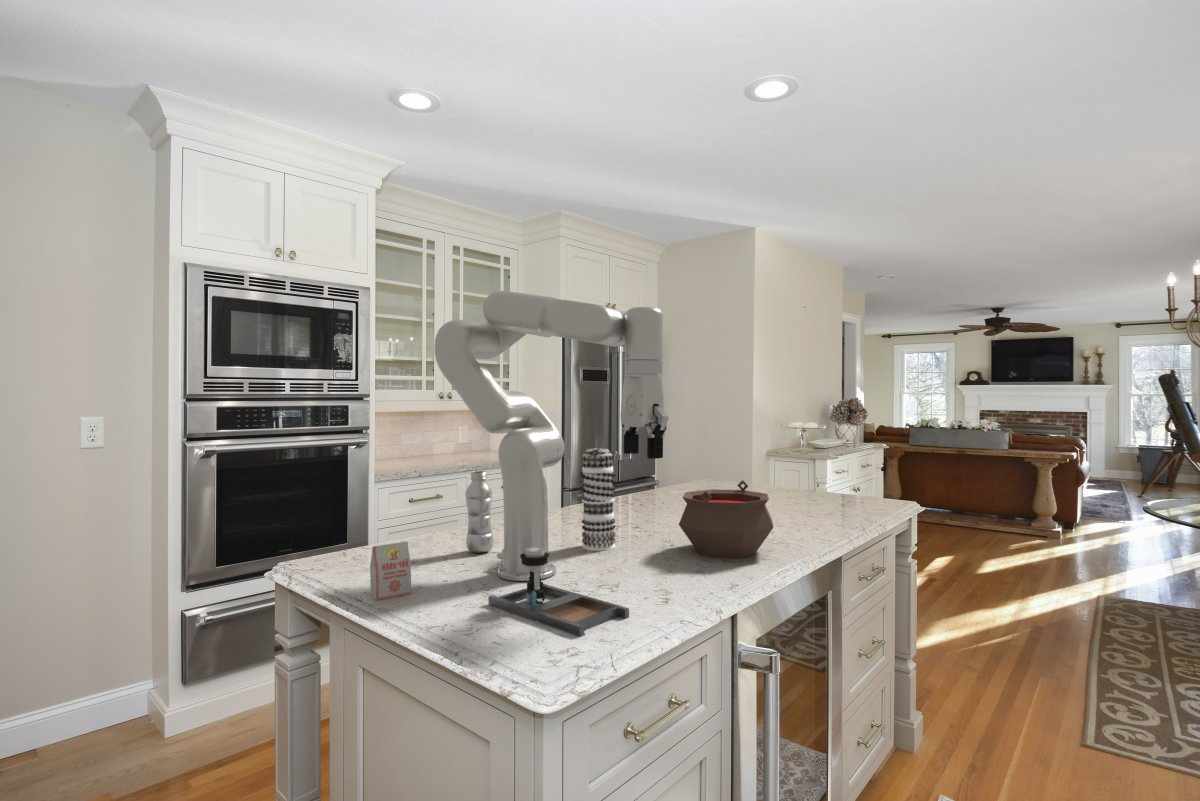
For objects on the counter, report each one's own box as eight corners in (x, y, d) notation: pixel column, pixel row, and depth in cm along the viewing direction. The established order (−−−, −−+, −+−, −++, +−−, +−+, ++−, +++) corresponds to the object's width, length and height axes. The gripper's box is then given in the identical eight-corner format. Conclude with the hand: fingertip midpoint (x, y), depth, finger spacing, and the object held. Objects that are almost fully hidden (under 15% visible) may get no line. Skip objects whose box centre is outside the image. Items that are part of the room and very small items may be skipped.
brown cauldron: (704, 536, 172) (703, 476, 172) (791, 547, 158) (790, 482, 158) (659, 554, 152) (658, 487, 152) (754, 569, 138) (753, 494, 138)
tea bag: (370, 596, 123) (369, 544, 123) (404, 589, 127) (404, 539, 127) (376, 600, 120) (375, 548, 120) (411, 593, 124) (410, 543, 124)
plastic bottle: (491, 555, 154) (489, 473, 154) (463, 555, 154) (462, 473, 154) (495, 548, 161) (494, 470, 161) (469, 549, 161) (468, 470, 161)
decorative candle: (589, 552, 155) (587, 451, 155) (575, 545, 164) (574, 448, 163) (622, 548, 159) (621, 449, 159) (607, 541, 167) (606, 447, 167)
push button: (554, 607, 115) (553, 552, 115) (525, 611, 113) (525, 555, 113) (545, 597, 121) (545, 545, 121) (518, 600, 119) (517, 547, 119)
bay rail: (488, 604, 117) (488, 596, 117) (537, 589, 126) (537, 582, 126) (579, 636, 101) (579, 627, 101) (629, 616, 109) (629, 608, 109)
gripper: (607, 370, 132) (606, 452, 132) (648, 368, 116) (647, 461, 117) (639, 371, 135) (638, 451, 136) (683, 369, 120) (682, 459, 120)
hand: (642, 455), depth 126 cm, fingers open, 9 cm apart
